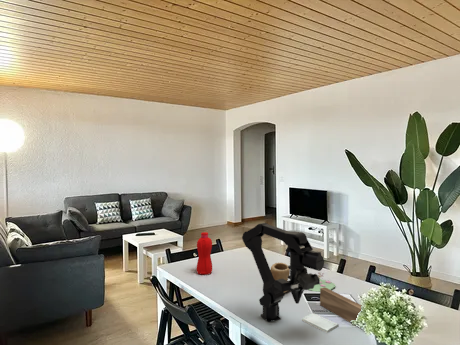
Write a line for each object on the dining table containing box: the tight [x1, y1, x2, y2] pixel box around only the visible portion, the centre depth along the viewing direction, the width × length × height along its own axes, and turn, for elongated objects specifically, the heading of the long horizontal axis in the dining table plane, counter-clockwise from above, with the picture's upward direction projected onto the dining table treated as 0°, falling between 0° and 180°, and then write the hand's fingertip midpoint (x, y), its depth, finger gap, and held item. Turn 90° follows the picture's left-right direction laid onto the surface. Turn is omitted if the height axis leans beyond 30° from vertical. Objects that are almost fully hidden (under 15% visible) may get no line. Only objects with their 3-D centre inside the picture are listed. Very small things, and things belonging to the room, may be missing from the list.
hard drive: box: [301, 312, 340, 334], centre depth 126 cm, size 2×8×12 cm
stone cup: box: [270, 262, 290, 294], centre depth 159 cm, size 15×12×15 cm
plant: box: [307, 271, 336, 293], centre depth 171 cm, size 25×21×9 cm
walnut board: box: [319, 287, 363, 323], centre depth 132 cm, size 3×26×8 cm, turn 26°
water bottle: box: [196, 232, 213, 276], centre depth 188 cm, size 9×11×25 cm
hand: (297, 303), depth 121 cm, fingers closed
